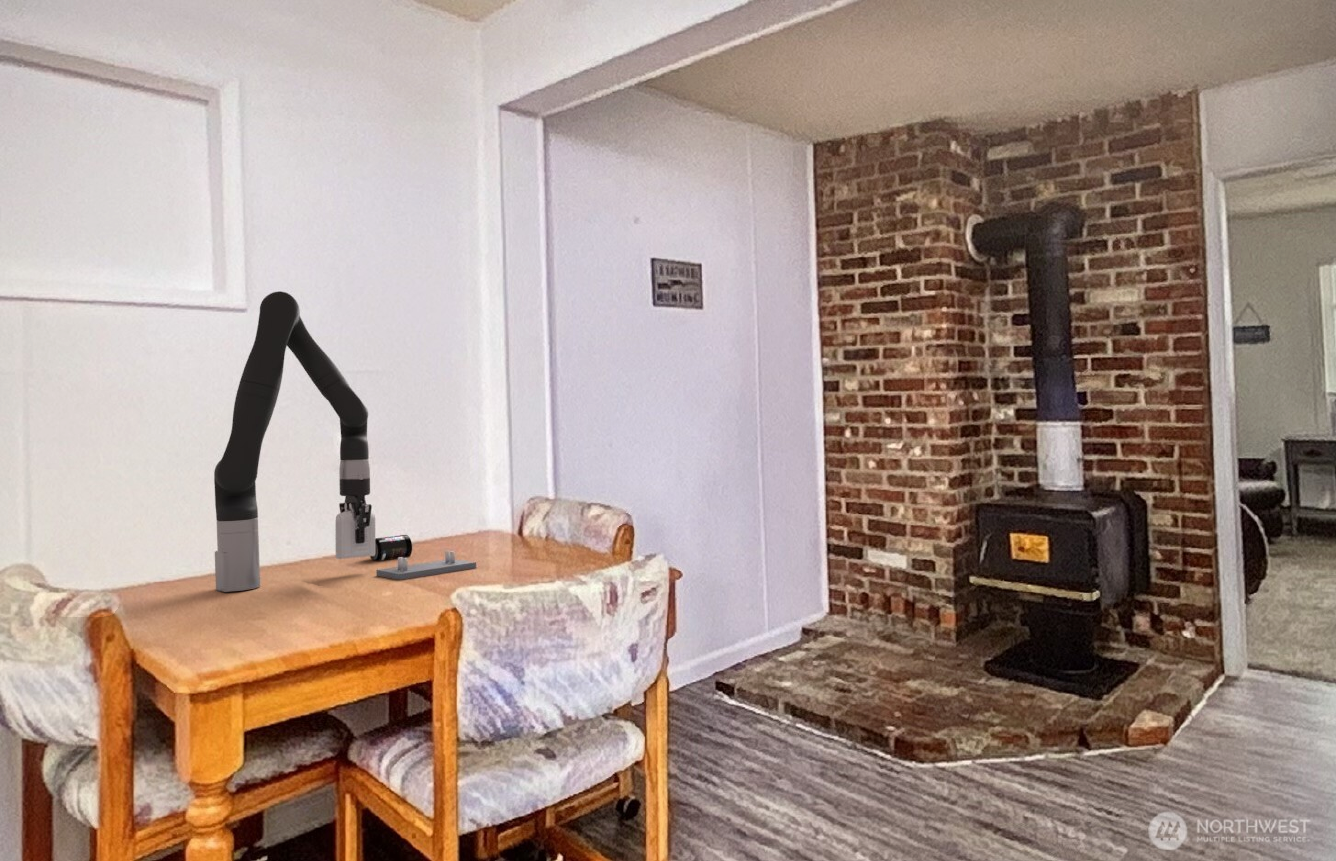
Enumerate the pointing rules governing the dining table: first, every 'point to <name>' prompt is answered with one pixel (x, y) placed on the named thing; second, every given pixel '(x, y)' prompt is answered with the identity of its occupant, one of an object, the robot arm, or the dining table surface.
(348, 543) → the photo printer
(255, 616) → the dining table surface
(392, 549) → the supplement container
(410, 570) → the pin dock
